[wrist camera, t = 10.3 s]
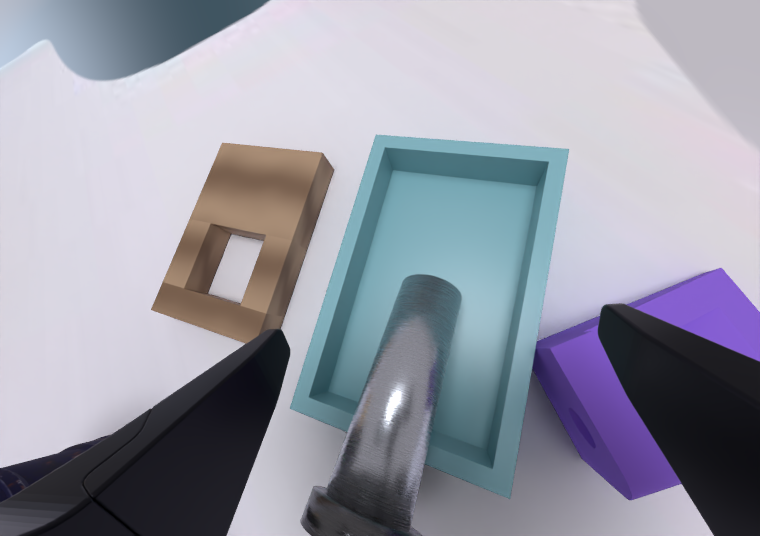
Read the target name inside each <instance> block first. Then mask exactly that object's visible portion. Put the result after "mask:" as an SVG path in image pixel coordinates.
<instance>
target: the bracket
mask: <svg viewBox="0 0 760 536" xmlns="http://www.w3.org/2000/svg"><path fill="white" fill-rule="evenodd" d="M627 305H628V306H630V307H633V308H635V309H637V310H640V311H642V312H645V313H647V314H649V315H652V316H654V317H656V318H659V319H661V320H663V321H666V322H668V323H670V324H673V325H675V326H677V327H680V328H682V329H685V330H687V331H689V332H692V333H694V334H696V335H699V336H701V337H703V338H706V339H708V340H710V341H713V342H715V343H717V344H720V345H722V346H725V347H727V348H729V349H732V350H734V351H736V352H739V353H741V354H743V355H746V356H748V357H750V358H753V359H755V360H757V361H760V312H759V311H758V310H757V309H756V307H755V306H754V305H753V304H752V303H751V302H750V300H749V299H748V298H747V297H746V296H745V295H744V293H743V292H742V291H741V290H740V289H739V288H738V286H737V285H736V284H735V283H734V282H733V281H732V279H731V278H730V277H729V276H728V275H727V274H726V272H725V271H724V270H723V269H722V268H719V269H716V270H712V271H709V272H706V273H703V274H701V275H698V276H696V277H693V278H691V279H688V280H686V281H684V282H681V283H679V284H676V285H674V286H671V287H669V288H666V289H664V290H662V291H659V292H657V293H654V294H652V295H649V296H647V297H645V298H642V299H640V300H637V301H635V302H632V303H630V304H627ZM599 319H600V316H598V317H596V318H593V319H591V320H588V321H586V322H584V323H581V324H579V325H576V326H574V327H571V328H569V329H566V330H564V331H562V332H559V333H557V334H554V335H552V336H549V337H547V338H545V339H542V340H540V341H537V343H536V349H535V354H534V360H533V366H532V368H533V370H534V372H535V374H536V376H537V378H538V379H539V381H540V383H541V385H542V387H543V389H544V390H545V392H546V394H547V396H548V398H549V400H550V401H551V403H552V405H553V407H554V409H555V410H556V412H557V414H558V416H559V418H560V420H561V421H562V423H563V425H564V427H565V429H566V431H567V432H568V434H569V436H570V438H571V440H572V442H573V443H574V445H575V447H576V449H577V451H578V452H579V454H580V456H581V458H582V459H583V460H584V461H585V462H586V463H587V464H588V465H590V466H591V467H592V468H593V469H594V470H595V471H596V472H597V473H599V474H600V475H601V476H602V477H603V478H604V479H605V480H606V481H608V482H609V483H610V484H611V485H612V486H613V487H614V488H615V489H617V490H618V491H619V492H620V493H621V494H622V495H623V496H624V497H626V498H627V499H628V500H634V499H637V498H640V497H643V496H646V495H649V494H652V493H655V492H658V491H661V490H664V489H667V488H670V487H673V486H676V485H679V484H682V483H681V482H680V480H679V479H678V477H677V475H676V474H675V472H674V471H673V469H672V467H671V466H670V464H669V463H668V461H667V459H666V458H665V456H664V455H663V453H662V451H661V450H660V448H659V447H658V445H657V443H656V442H655V440H654V439H653V437H652V435H651V434H650V432H649V431H648V429H647V427H646V426H645V424H644V423H643V421H642V419H641V418H640V416H639V415H638V413H637V411H636V410H635V408H634V407H633V405H632V403H631V402H630V400H629V398H628V397H627V395H626V393H625V391H624V389H623V387H622V385H621V383H620V381H619V379H618V377H617V375H616V373H615V371H614V369H613V367H612V365H611V363H610V361H609V359H608V356H607V354H606V352H605V350H604V348H603V346H602V344H601V342H600V340H599V337H598V324H599Z"/></svg>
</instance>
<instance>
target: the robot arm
mask: <svg viewBox="0 0 760 536" xmlns="http://www.w3.org/2000/svg"><path fill="white" fill-rule="evenodd" d="M598 337H599V340H600V342H601V344H602V346H603V348H604V350H605V352H606V354H607V356H608V359H609V361H610V363H611V365H612V367H613V369H614V371H615V373H616V375H617V377H618V379H619V381H620V383H621V385H622V387H623V389H624V391H625V393H626V395H627V397H628V398H629V400H630V402H631V403H632V405H633V407H634V408H635V410H636V411H637V413H638V415H639V416H640V418H641V419H642V421H643V423H644V424H645V426H646V427H647V429H648V431H649V432H650V434H651V435H652V437H653V439H654V440H655V442H656V443H657V445H658V447H659V448H660V450H661V451H662V453H663V455H664V456H665V458H666V459H667V461H668V463H669V464H670V466H671V467H672V469H673V471H674V472H675V474H676V475H677V477H678V479H679V480H680V482H681V483H682V485H683V487H684V488H685V490H686V491H687V493H688V495H689V496H690V498H691V499H692V501H693V503H694V504H695V506H696V507H697V509H698V511H699V512H700V514H701V516H702V517H703V519H704V520H705V522H706V524H707V525H708V527H709V528H710V530H711V532H712V533H713V535H714V536H760V361H757V360H755V359H753V358H750V357H748V356H746V355H743V354H741V353H739V352H736V351H734V350H732V349H729V348H727V347H725V346H722V345H720V344H717V343H715V342H713V341H710V340H708V339H706V338H703V337H701V336H699V335H696V334H694V333H692V332H689V331H687V330H685V329H682V328H680V327H677V326H675V325H673V324H670V323H668V322H666V321H663V320H661V319H659V318H656V317H654V316H652V315H649V314H647V313H645V312H642V311H640V310H637V309H635V308H633V307H630V306H628V305H626V304H622V303H619V304H606V305H604V306H603V307H602V309H601V314H600V319H599V324H598ZM289 357H290V347H289V345H288V343H287V340H286V338H285V336H284V333H283V331H282V330H281V329H268V330H266V331H264V332H263V333H261V334H260V335H258V336H257V337H255V338H254V339H252V340H251V341H249V342H248V343H247V344H245V345H244V346H242V347H241V348H239V349H238V350H236V351H235V352H233V353H232V354H230V355H229V356H227V357H226V358H224V359H223V360H221V361H220V362H219V363H217V364H216V365H214V366H213V367H211V368H210V369H208V370H207V371H205V372H204V373H202V374H201V375H199V376H198V377H196V378H195V379H193V380H192V381H191V382H189V383H188V384H186V385H185V386H183V387H182V388H180V389H179V390H177V391H176V392H174V393H173V394H171V395H170V396H168V397H167V398H165V399H164V400H163V401H161V402H160V403H158V404H157V405H155V406H154V407H153V408H152V409H149V410H148V411H146V412H145V413H143V414H142V415H140V416H139V417H137V418H136V419H134V420H133V421H131V422H130V423H128V424H127V425H125V426H124V427H122V428H121V429H119V430H118V431H116V432H115V433H113V434H112V435H110V436H109V437H107V438H105V439H104V440H102V441H101V442H99V443H98V444H96V445H94V446H93V447H91V448H90V449H88V450H86V451H85V452H83V453H82V454H80V455H78V456H77V457H75V458H74V459H72V460H70V461H69V462H67V463H66V464H64V465H62V466H61V467H59V468H57V469H56V470H54V471H53V472H51V473H49V474H48V475H46V476H45V477H43V478H41V479H40V480H38V481H36V482H35V483H33V484H32V485H30V486H28V487H27V488H25V489H24V490H22V491H20V492H19V493H17V494H15V495H14V496H12V497H10V498H8V499H7V500H5V501H3V502H1V503H0V536H226V535H227V533H228V530H229V528H230V525H231V522H232V520H233V517H234V514H235V512H236V509H237V507H238V504H239V501H240V499H241V496H242V493H243V491H244V488H245V486H246V483H247V480H248V478H249V475H250V472H251V470H252V467H253V465H254V462H255V459H256V457H257V454H258V451H259V449H260V446H261V444H262V441H263V438H264V436H265V433H266V430H267V428H268V425H269V422H270V420H271V417H272V415H273V412H274V409H275V407H276V404H277V401H278V398H279V394H280V391H281V387H282V383H283V380H284V376H285V372H286V369H287V365H288V361H289Z"/></svg>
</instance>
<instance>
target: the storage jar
mask: <svg viewBox="0 0 760 536" xmlns="http://www.w3.org/2000/svg"><path fill="white" fill-rule="evenodd" d="M109 436H110V435H108V436H104V437H101V438H98V439H96V440H94V441H90V442H86V443H82V444H78V445H74V446H72V447H69V448H67V449H65V450H63V451H61V452H60V453H58V454H54V455H50V456H46V457H42V458H38V459H35V460H31V461H27V462H23V463H19V464H15V465H11V466H8V467H4V468H0V503H1V502H3V501H5V500H7V499H8V498H10V497H12V496H14V495H15V494H17V493H19V492H20V491H22V490H24V489H25V488H27V487H28V486H30V485H32V484H33V483H35V482H36V481H38V480H40V479H41V478H43V477H45V476H46V475H48V474H49V473H51V472H53V471H54V470H56V469H57V468H59V467H61V466H62V465H64V464H66V463H67V462H69V461H70V460H72V459H74V458H75V457H77V456H78V455H80V454H82V453H83V452H85V451H86V450H88V449H90V448H91V447H93V446H94V445H96V444H98V443H99V442H101V441H102V440H104V439H105V438H107V437H109Z"/></svg>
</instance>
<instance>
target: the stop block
mask: <svg viewBox="0 0 760 536" xmlns="http://www.w3.org/2000/svg"><path fill="white" fill-rule="evenodd" d="M333 171H334V169H333V167H332V166H331V164H330V163H329V161H328V160H327V159H326V157H325V156H324V154H323V153H320V152H310V151H300V150H290V149H280V148H270V147H260V146H250V145H240V144H230V143H222V145H221V147H220V149H219V152H218V154H217V156H216V159H215V161H214V163H213V166H212V168H211V170H210V173H209V175H208V177H207V180H206V182H205V184H204V187H203V189H202V191H201V194H200V196H199V198H198V201H197V203H196V205H195V208H194V210H193V213H192V215H191V217H190V220H189V222H188V224H187V227H186V229H185V231H184V234H183V236H182V238H181V241H180V243H179V245H178V248H177V250H176V252H175V255H174V257H173V259H172V262H171V264H170V266H169V269H168V271H167V273H166V276H165V278H164V280H163V283H162V285H161V288H160V290H159V292H158V295H157V297H156V299H155V302H154V304H153V306H152V309H151V310H153V311H156V312H158V313H161V314H164V315H167V316H170V317H173V318H175V319H178V320H181V321H184V322H187V323H190V324H192V325H195V326H198V327H201V328H204V329H207V330H209V331H212V332H215V333H218V334H221V335H224V336H227V337H229V338H232V339H235V340H238V341H241V342H244V343H246V344H247V343H248V342H249V341H251V340H252V339H254V338H255V337H257V336H258V335H260V334H261V333H263V332H264V331H266V330H268V329H280V328H281V325H282V322H283V319H284V316H285V313H286V310H287V308H288V305H289V302H290V299H291V296H292V293H293V290H294V287H295V284H296V281H297V278H298V275H299V272H300V269H301V266H302V263H303V260H304V257H305V254H306V251H307V248H308V245H309V242H310V239H311V236H312V233H313V230H314V227H315V224H316V221H317V219H318V216H319V213H320V210H321V207H322V204H323V201H324V198H325V195H326V192H327V189H328V186H329V183H330V180H331V177H332V174H333ZM231 234H235V235H240V236H244V237H249V238H253V239H258V240H263V241H264V242H263V245H262V248H261V251H260V253H259V256H258V259H257V261H256V264H255V267H254V270H253V272H252V275H251V278H250V280H249V283H248V286H247V289H246V291H245V294H244V297H243V299H242V302H241V304H240V303H237V302H233V301H230V300H227V299H223V298H220V297H217V296H214V295H210V294H207V293H208V291H209V288H210V286H211V283H212V281H213V278H214V276H215V273H216V270H217V268H218V265H219V263H220V260H221V258H222V255H223V253H224V250H225V248H226V245H227V243H228V240H229V237H230V235H231Z"/></svg>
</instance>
